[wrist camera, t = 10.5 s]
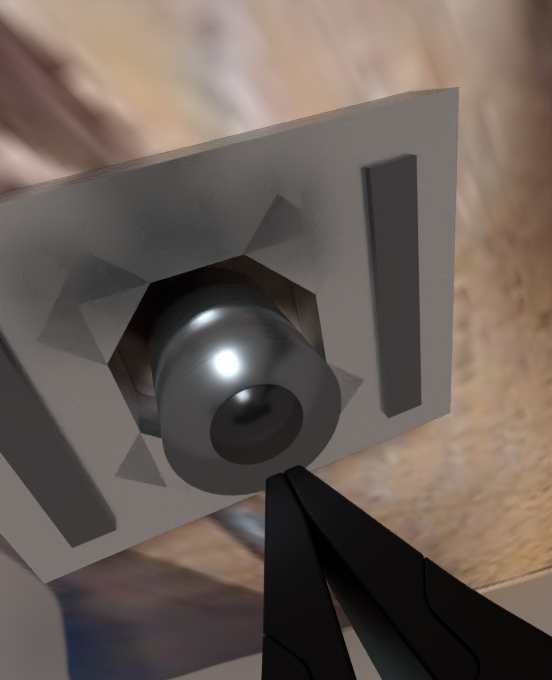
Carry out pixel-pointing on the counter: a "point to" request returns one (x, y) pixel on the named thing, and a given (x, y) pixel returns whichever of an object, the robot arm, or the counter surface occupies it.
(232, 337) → the bushing
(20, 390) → the jig
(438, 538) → the counter surface
